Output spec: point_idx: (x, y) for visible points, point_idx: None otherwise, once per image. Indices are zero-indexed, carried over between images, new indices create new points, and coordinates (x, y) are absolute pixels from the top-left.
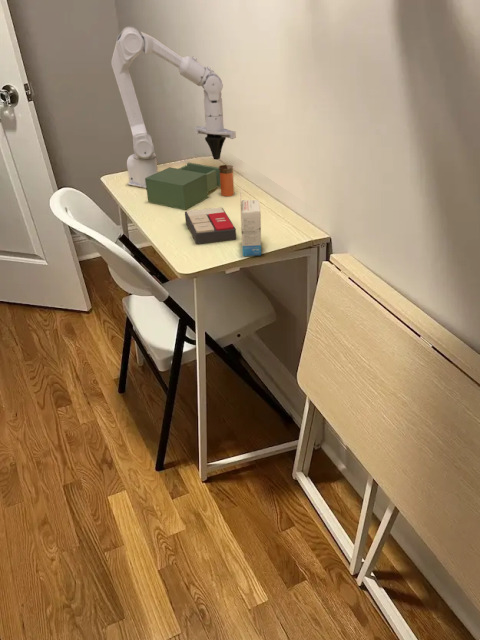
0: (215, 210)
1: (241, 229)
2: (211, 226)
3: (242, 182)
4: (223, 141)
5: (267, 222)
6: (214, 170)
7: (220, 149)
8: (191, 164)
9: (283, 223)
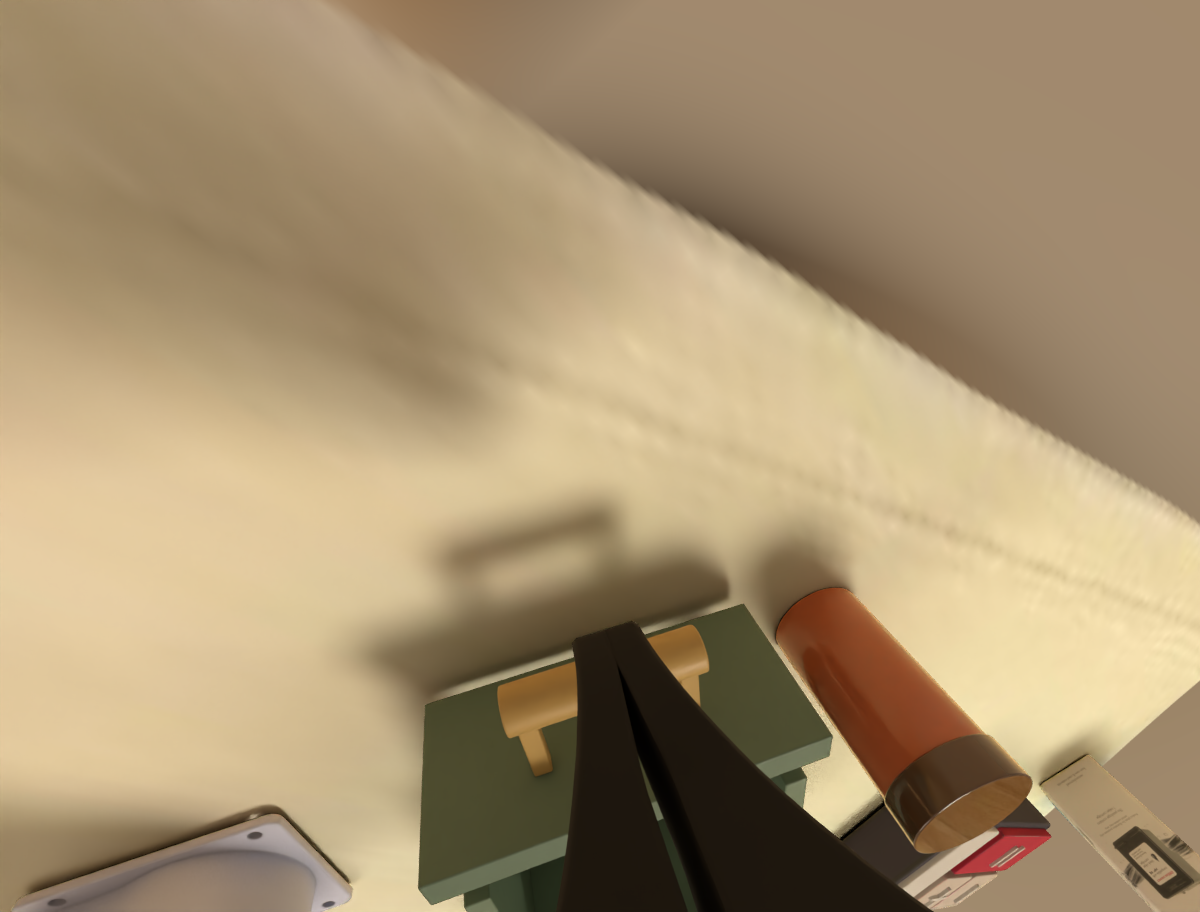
0: (966, 851)
1: (1128, 884)
2: (987, 878)
3: (799, 387)
4: (889, 905)
5: (1096, 668)
6: (800, 788)
7: (706, 743)
8: (496, 878)
9: (1157, 634)
